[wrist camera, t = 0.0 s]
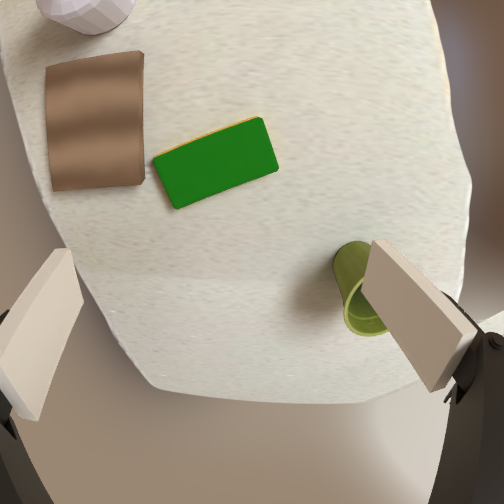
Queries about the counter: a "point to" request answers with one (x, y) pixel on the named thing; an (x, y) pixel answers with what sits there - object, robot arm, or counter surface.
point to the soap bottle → (86, 13)
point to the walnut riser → (96, 121)
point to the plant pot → (356, 290)
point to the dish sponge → (216, 162)
